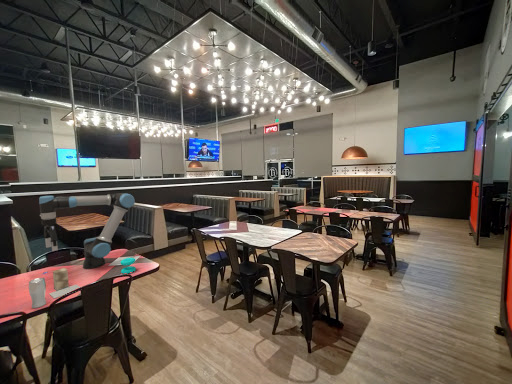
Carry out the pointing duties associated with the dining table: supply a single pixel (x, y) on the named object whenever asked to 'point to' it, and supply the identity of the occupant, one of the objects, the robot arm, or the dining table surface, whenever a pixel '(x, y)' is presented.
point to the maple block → (60, 279)
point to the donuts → (130, 268)
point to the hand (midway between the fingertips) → (51, 248)
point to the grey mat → (63, 291)
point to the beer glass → (37, 292)
